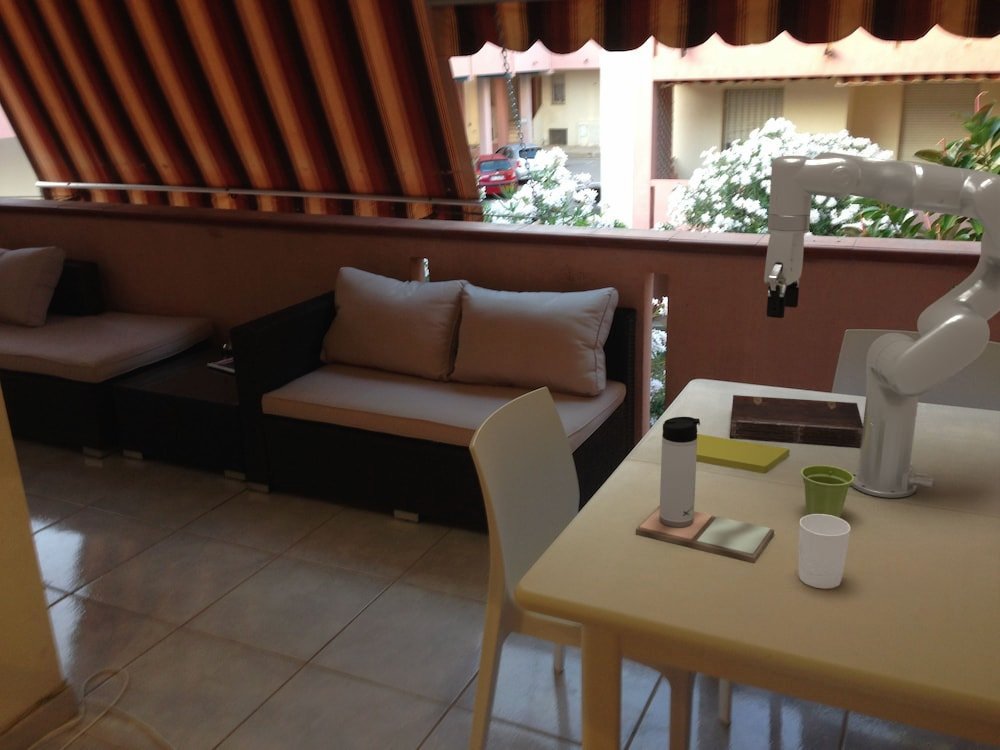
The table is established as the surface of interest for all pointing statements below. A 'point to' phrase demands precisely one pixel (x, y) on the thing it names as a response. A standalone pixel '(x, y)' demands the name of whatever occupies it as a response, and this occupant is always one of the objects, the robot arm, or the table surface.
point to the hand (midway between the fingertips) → (782, 311)
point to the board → (711, 535)
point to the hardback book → (796, 421)
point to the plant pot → (825, 489)
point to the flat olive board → (739, 454)
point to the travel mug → (678, 471)
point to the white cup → (822, 550)
